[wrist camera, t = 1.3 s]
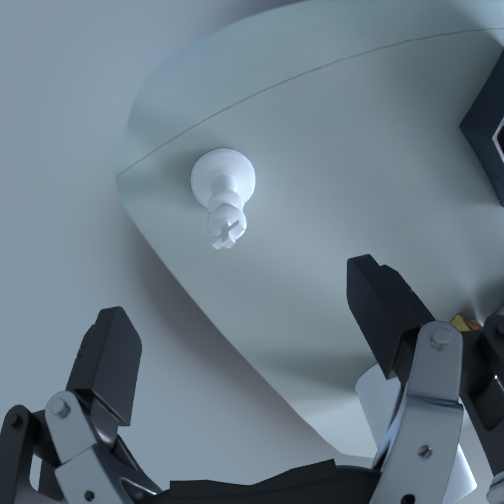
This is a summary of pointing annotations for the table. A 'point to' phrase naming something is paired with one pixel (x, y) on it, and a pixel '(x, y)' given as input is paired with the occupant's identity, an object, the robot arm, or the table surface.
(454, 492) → the tall pillar cylinder
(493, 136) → the tray
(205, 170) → the chess piece
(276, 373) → the table surface
